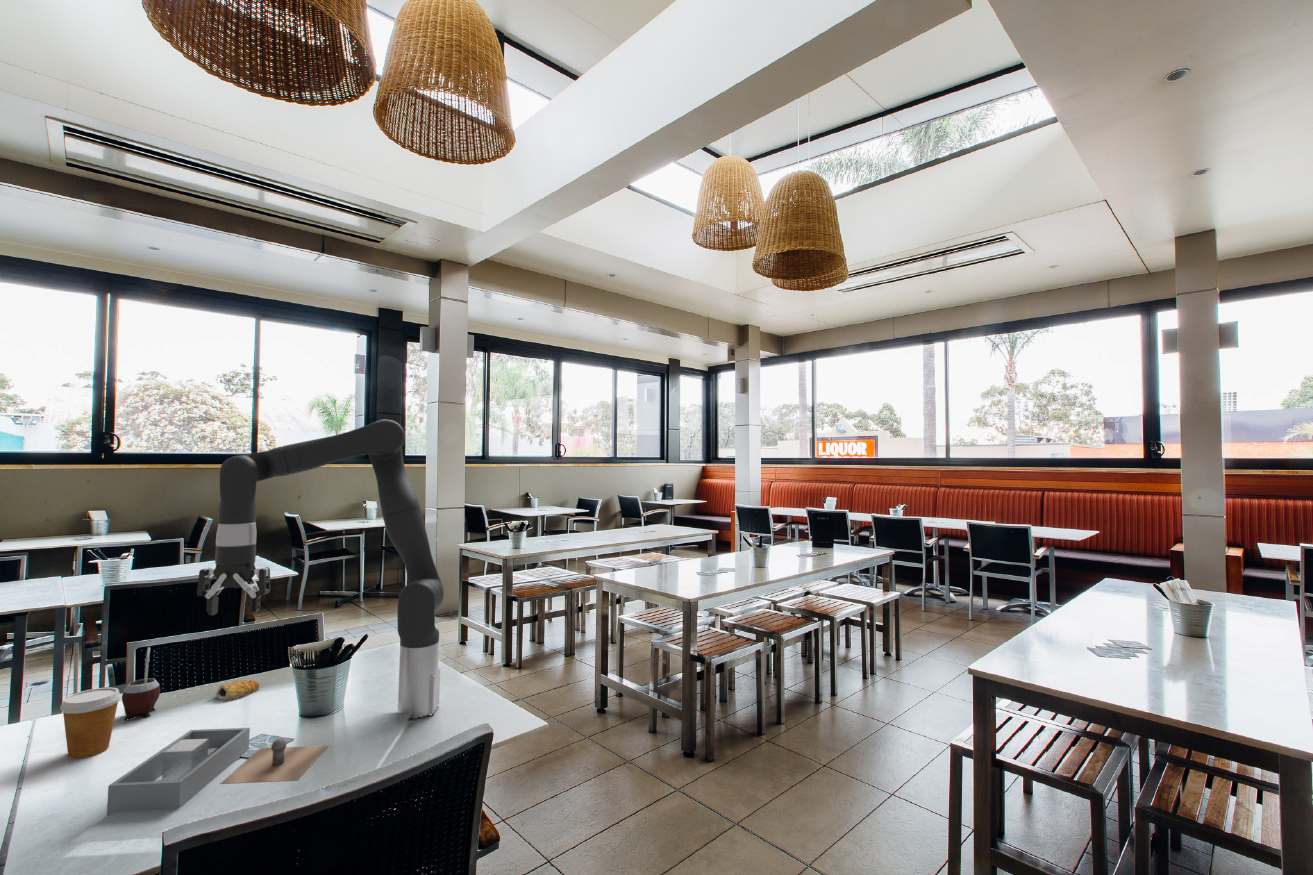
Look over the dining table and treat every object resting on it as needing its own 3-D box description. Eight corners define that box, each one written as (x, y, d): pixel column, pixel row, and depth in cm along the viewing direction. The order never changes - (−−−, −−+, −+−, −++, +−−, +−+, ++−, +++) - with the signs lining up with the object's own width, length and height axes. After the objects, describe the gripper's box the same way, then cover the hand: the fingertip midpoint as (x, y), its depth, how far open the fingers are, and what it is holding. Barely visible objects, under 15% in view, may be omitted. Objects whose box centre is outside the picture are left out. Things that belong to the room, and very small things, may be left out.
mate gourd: (133, 723, 140) (136, 659, 140) (111, 718, 142) (115, 655, 143) (167, 710, 147) (170, 650, 148) (146, 706, 149) (149, 646, 150)
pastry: (250, 686, 164) (251, 672, 164) (265, 691, 161) (266, 676, 161) (213, 698, 156) (214, 683, 156) (227, 703, 153) (228, 688, 153)
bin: (189, 758, 124) (190, 729, 124) (248, 756, 125) (249, 727, 125) (106, 820, 102) (108, 785, 103) (178, 816, 104) (180, 782, 104)
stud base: (329, 752, 127) (330, 722, 127) (297, 787, 113) (298, 754, 114) (260, 755, 126) (261, 725, 126) (219, 791, 112) (221, 758, 112)
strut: (197, 760, 121) (199, 727, 122) (223, 759, 122) (225, 726, 122) (139, 805, 106) (141, 766, 106) (169, 803, 106) (171, 765, 106)
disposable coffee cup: (129, 745, 129) (132, 690, 130) (74, 766, 120) (77, 706, 121) (101, 738, 132) (104, 684, 133) (46, 758, 123) (49, 700, 124)
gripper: (278, 540, 139) (275, 609, 138) (213, 540, 137) (209, 610, 136) (260, 544, 131) (257, 618, 131) (191, 545, 130) (188, 619, 129)
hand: (233, 614), depth 133 cm, fingers open, 8 cm apart
